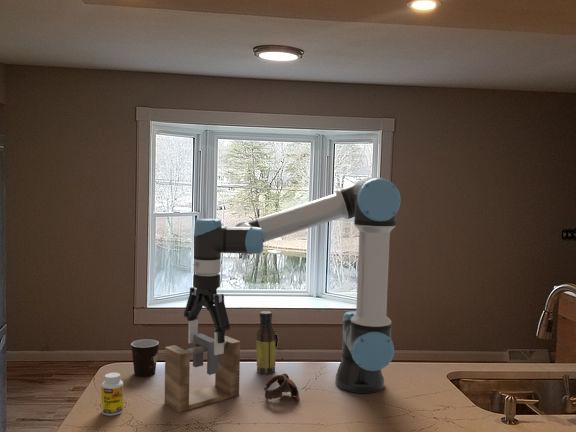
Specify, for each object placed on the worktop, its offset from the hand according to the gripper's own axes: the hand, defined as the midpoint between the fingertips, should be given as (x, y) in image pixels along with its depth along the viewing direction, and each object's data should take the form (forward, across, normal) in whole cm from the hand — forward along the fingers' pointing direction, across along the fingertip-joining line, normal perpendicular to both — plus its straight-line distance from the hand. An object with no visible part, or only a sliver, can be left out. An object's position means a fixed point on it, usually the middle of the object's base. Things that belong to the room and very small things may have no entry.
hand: (205, 348), depth 160 cm
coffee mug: (+15, -29, -5) cm, 33 cm away
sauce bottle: (+15, -8, +29) cm, 34 cm away
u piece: (+6, 0, 0) cm, 6 cm away
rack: (+15, 0, 0) cm, 15 cm away
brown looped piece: (+15, +13, +18) cm, 27 cm away
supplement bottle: (+15, -8, -24) cm, 30 cm away
